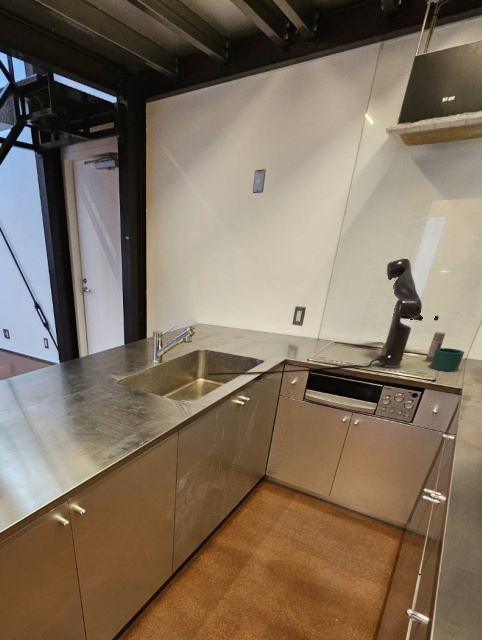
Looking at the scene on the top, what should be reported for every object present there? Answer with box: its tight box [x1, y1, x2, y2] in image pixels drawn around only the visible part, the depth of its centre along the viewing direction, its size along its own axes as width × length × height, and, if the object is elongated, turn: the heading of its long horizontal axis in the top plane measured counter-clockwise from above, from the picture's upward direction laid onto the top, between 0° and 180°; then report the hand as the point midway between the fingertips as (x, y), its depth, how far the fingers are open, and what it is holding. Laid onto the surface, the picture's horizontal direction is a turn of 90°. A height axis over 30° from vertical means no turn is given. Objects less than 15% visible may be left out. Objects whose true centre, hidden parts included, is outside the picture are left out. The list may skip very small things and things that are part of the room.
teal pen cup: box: [430, 347, 465, 372], centre depth 192 cm, size 12×12×9 cm
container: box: [425, 331, 446, 363], centre depth 203 cm, size 5×5×15 cm
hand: (429, 318), depth 207 cm, fingers open, 8 cm apart
